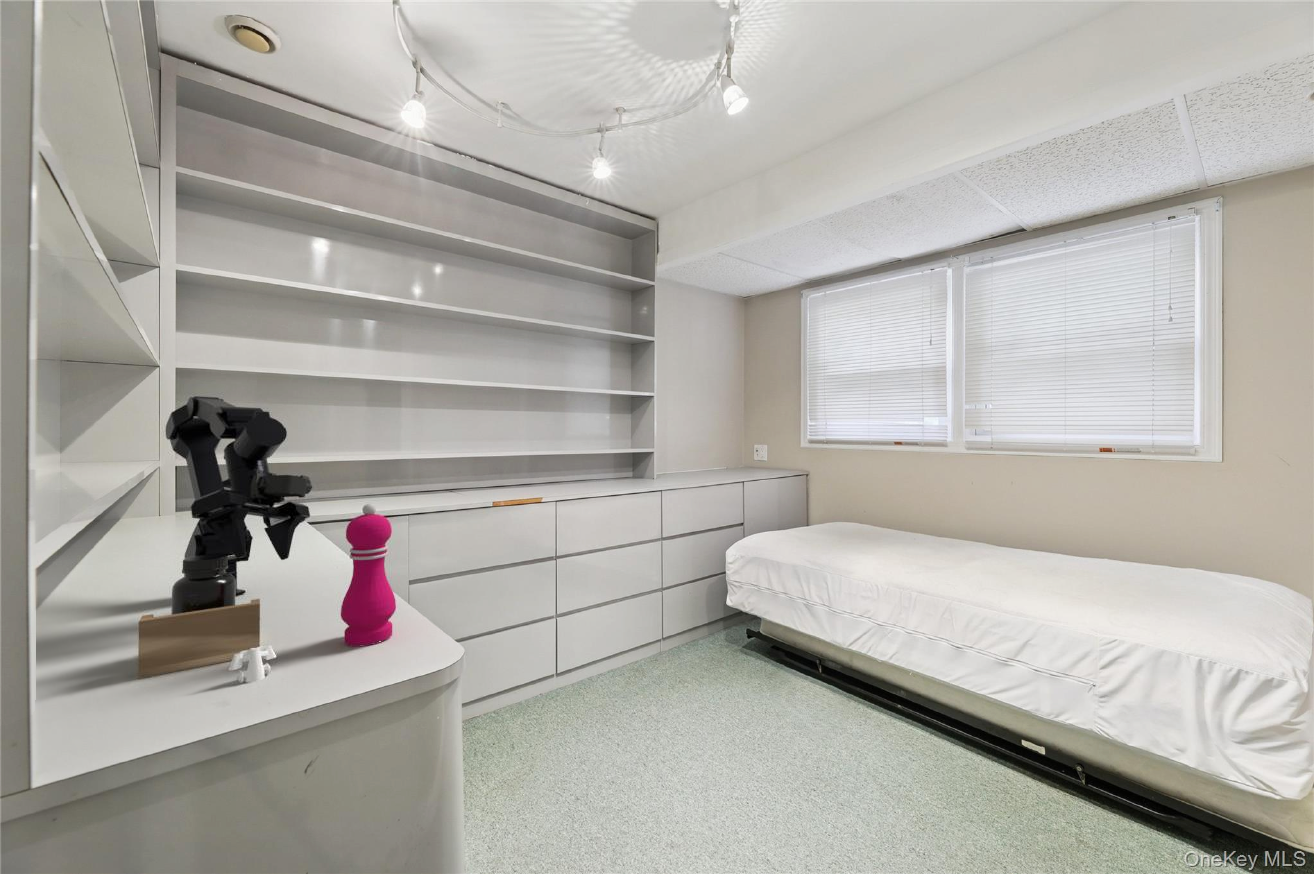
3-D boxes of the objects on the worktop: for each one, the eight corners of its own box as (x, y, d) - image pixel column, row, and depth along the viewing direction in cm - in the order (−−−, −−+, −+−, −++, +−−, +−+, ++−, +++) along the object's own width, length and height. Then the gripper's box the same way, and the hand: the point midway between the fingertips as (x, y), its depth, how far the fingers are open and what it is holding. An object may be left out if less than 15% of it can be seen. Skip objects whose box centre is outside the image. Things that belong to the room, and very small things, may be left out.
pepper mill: (405, 630, 82) (406, 501, 82) (376, 648, 75) (377, 506, 75) (361, 629, 83) (362, 500, 83) (328, 647, 76) (329, 506, 76)
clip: (274, 669, 68) (274, 640, 68) (281, 673, 67) (281, 643, 67) (226, 684, 64) (226, 653, 64) (232, 688, 63) (232, 656, 63)
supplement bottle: (180, 657, 69) (181, 564, 70) (163, 646, 73) (163, 558, 73) (243, 640, 75) (244, 555, 75) (224, 631, 79) (224, 550, 79)
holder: (151, 651, 74) (151, 600, 74) (258, 632, 82) (258, 586, 82) (138, 678, 66) (138, 621, 66) (259, 654, 73) (259, 603, 73)
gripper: (249, 441, 84) (267, 535, 79) (328, 466, 102) (345, 543, 97) (181, 468, 83) (195, 563, 79) (272, 488, 101) (288, 566, 97)
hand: (264, 558), depth 88 cm, fingers open, 9 cm apart
